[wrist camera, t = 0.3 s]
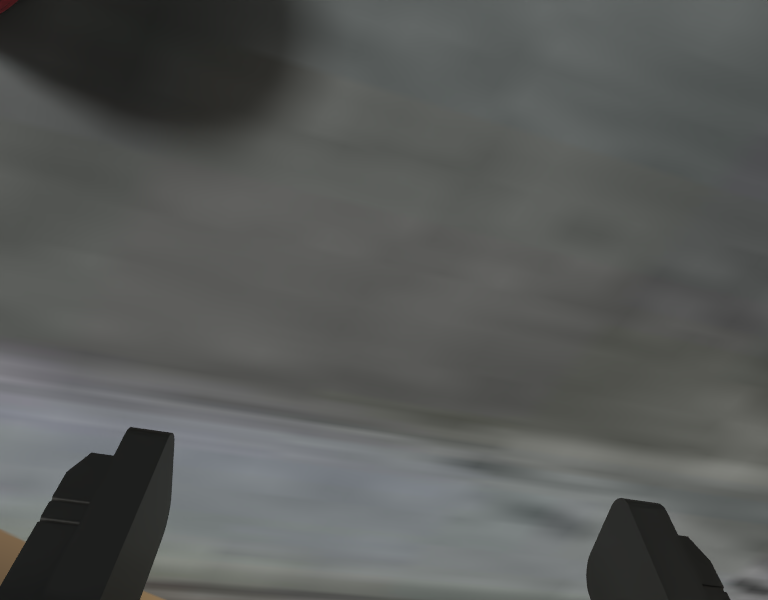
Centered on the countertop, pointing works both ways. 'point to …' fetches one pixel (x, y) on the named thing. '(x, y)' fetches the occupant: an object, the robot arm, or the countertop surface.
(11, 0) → the canister
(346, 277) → the countertop surface
